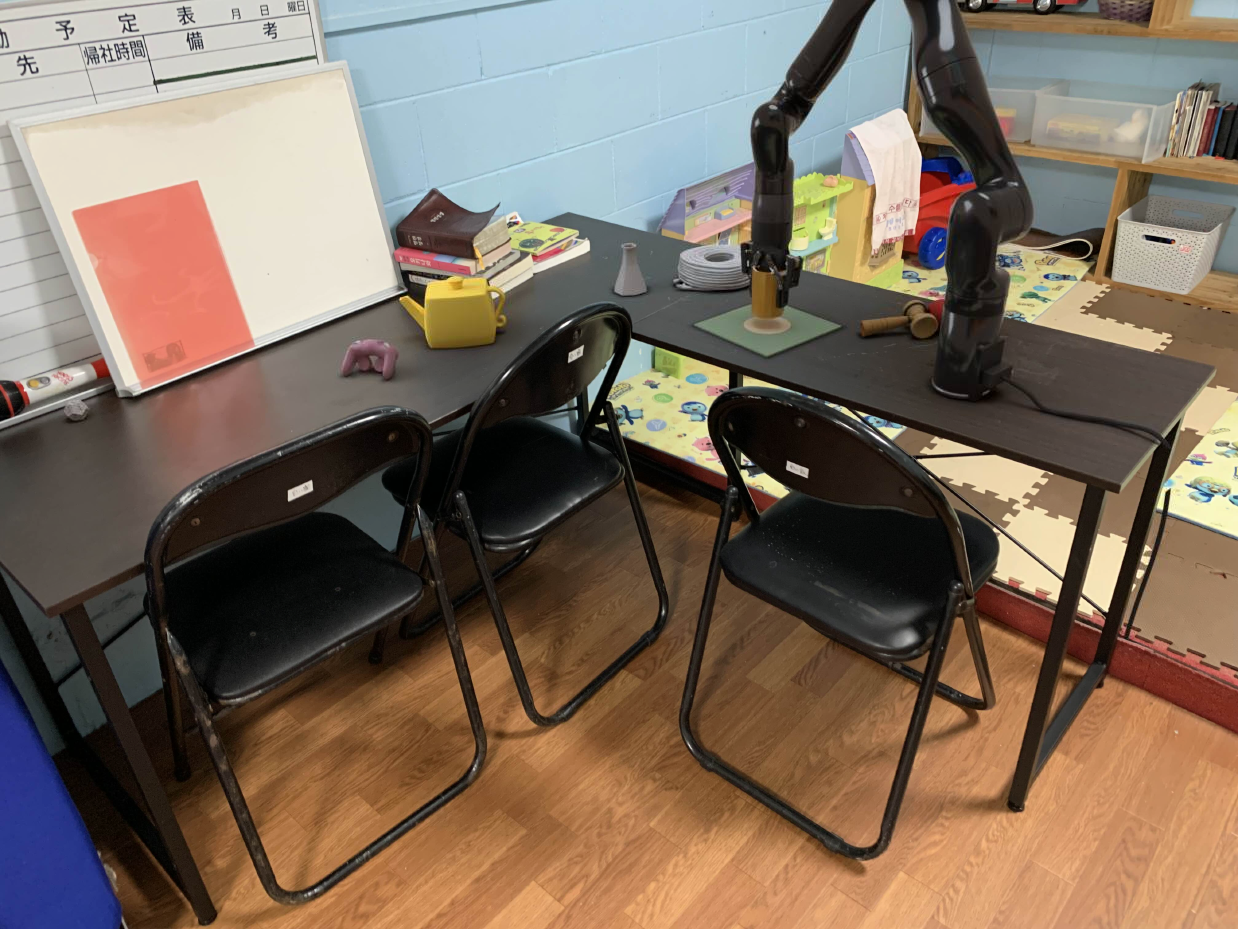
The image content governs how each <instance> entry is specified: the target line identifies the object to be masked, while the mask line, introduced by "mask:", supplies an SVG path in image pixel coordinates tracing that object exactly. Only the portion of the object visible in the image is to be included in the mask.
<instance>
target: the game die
mask: <svg viewBox="0 0 1238 929" xmlns="http://www.w3.org/2000/svg"><path fill="white" fill-rule="evenodd" d="M89 410H90V408H89V407H88V406H87V405H86V403H85V402H83V401H82V400H81V399H79V398H78V399H71V400H69V401H68V402H66V404H65V406H64V409H63V413H64V414H65V415H66V416H67V417H68V418H69V419H70V420H72V421H73V422H75V421H83V420H84V419H85V418H86V417H87V416H88V413H89Z"/></svg>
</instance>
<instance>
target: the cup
mask: <svg viewBox="0 0 1238 929" xmlns="http://www.w3.org/2000/svg"><path fill="white" fill-rule="evenodd" d="M777 271H778V272H779V273H780V272H783V271H785V270H784V269H783V270H782V268H781V269H780V270H777ZM781 278H782V282H784V275H783V276H781ZM777 289H778V287H777V284H776V278H774V273H771V272H770V271H768V270H767V269H763V270H762V269H761V270H758V271H757V270H756V269H755V267H754V266H753V273H752V298H751V303H750V304H751V314H752V315H753V316H755V317H758V318H763V319H773V318H778V317H780V316H782V315H783V314H784V307H783V308H777V307H776V294H777Z"/></svg>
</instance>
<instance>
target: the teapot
mask: <svg viewBox="0 0 1238 929" xmlns="http://www.w3.org/2000/svg"><path fill="white" fill-rule="evenodd" d="M492 293H495V294H498V295H499V303H498V305H497V308H496V307H495V303H494V299H493V295H492ZM424 295H425V296H424V307H423V306H422V305H420V304H419V303H417V302H416V301H415V300H413V299H412V298H411V297H410V296H409V295H405V296H402V297H399V299H398V302H399V303H400V304H401V305H402V306H403V307H404V308H405V310H406V311H407V312H408V313H409V314H410V315H411V317H412V318H413V319H414V320H415V321H416V322H417V324H418V325H419V326H420V327H421V328H422V329H423V330H424V333H425V334H424V335H425V338H426V342H427V343H428V346H429V347H430V349H456V348H457V349H458V348H467V347H468V348H469V347H476V346H477V347H478V346H486V345H490V344H493V343H494V342H495V339H496V334H497V333H496V332H497V328H502V327H504V326H505V325H506V323H507V317H506V316H505V314H504V315H503V314H501V312H502V310H503V308H504V306H505V303H506V295H505V292H504V291H503V290H502V289H501V288H500V287H498V286H495V285H489V282H488V281H487V279H486V278H485V277H467V278H466V277H465V278H463V277H462V276H460V275H459V276H458V275H455V276H450V277H448V278H447V279H442V280H435V281H429V282H428V283H427V286H426V289H425V294H424ZM495 308H496V309H495ZM499 319H501V321H498V320H499Z"/></svg>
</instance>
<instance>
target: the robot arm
mask: <svg viewBox="0 0 1238 929" xmlns="http://www.w3.org/2000/svg"><path fill="white" fill-rule="evenodd" d="M876 1H877V0H832V2H831V3H830V5H829V7H828V9H827V11H826V12H825V14H824V16H823V17H822V19H821V21H820V23H819V24H818V26H817V27H816V28H815V30H814V32H813V33H812V35H811V36H810V38H809V39H808V40H807V42H806V43H805V45H804V46H803V48H801V50H800V51H799V52H798V54H797V55H796V57H795V59H793V61H792V63H791V64H790V66H789V67H788V69H787V71H786V73H785V76H784V77H785V78H784V79H785V80H784V81H783V83H782V84H781V86H780V87H779V89H778V90H777V91H776V93H775V94H774V95H773V96H772V97H771V99H770V100H768V101H766V102H764V103H762V104H761V105H759V106H758V107H757V108H756V109H755V111H754V113H753V114H752V118H751V121H750V127H749V128H750V129H749V136H750V137H749V138H750V146H751V152H752V158H753V163H754V173H753V193H752V200H751V215H750V216H751V218H750V240H747V241H744V242H741V243H740V244H739V246H740V249H741V268H742V273H743V274H747V275H748V278H749V279H750V285H749V290H748V292H749V296H750V298H751V299H752V273H753V266H754V267H755V269H756V270H757V271H758V270H761V269H762V270H763V269H767V270H768V271H770V272H771V273H774V278H776V284H777V287H778V289H777V294H776V307H777V308H783V307H785V306H788V304H789V298H790V297H789V294H790V289H792V288H797V287H799V285H800V284H799V283H800V278H801V271H802V265H803V264H802V263H803V257H802V256H801V255H798V256H795V255H793V254H791V251H790V248H789V247H790V244H791V241H792V240H793V226H794V210H795V198H794V184H795V183H794V182H795V163H794V160H793V158H792V157H791V156H790V150H789V147H790V146H789V141H790V140H789V139H790V138H791V137H792V136H793V135H794V134H795V133H796V132H797V131H798V130H799V129H800V128H801V127H802V125H803V123H804V122H805V121H806V119H807V118H808V116H809V114H810V113H811V111H812V109H814V108H813V107H814V106H815V104H816V102H817V100H818V98H820V96H821V95H822V94H823V93H824V92H825V91H826V90H827V88H828V87H829V86H830V84H831V83H832V82H833V80H834V79H835V78H836V76H837V75H838V74H839V72H840V71H841V69H842V68H843V66H844V65H845V63H846V61H847V60H848V58H849V56H850V54H851V52H852V50H853V47H854V44H855V42H856V39H857V37H858V33H859V31H860V28H861V26H862V24H863V22H864V20H865V18H866V16H867V14H868V12H869V11H870V9H871V8H872V7H873V5H874V4H875V3H876ZM902 1H903V5H904V7H905V10H906V12H907V14H908V18H909V21H910V26H911V32H912V46H911V48H912V49H911V67H912V76H913V80H914V84H915V87H916V91H917V93H918V97H919V99H920V102H921V106H922V108H923V110H924V113H925V115H926V116H927V119H928V120H929V122H930V123H931V125H932V127H934V129H935V130H936V131H937V132H938V133H939V134H940V135H941V137H943V139H945V140H946V141H947V142H948V143H949V144H950V145H951V146H952V148H954V149H955V151H956V152H957V153H958V154H959V155H960V156H961V158H962V159H963V160H964V162H965V164H966V165H967V167H968V169H969V172H970V174H971V177H972V180H973V182H974V186H975V188H971V189H968V190H965V191H963V192H962V193H960V194H959V195H958V196H957V198H955V200H954V201H953V204H952V206H951V209H950V213H949V216H948V222H947V228H946V229H947V231H946V242H945V253H944V270H945V274H946V280H947V281H946V287H945V293H944V299H945V300H944V306H943V313H942V320H941V326H940V331H939V334H938V339H937V340H938V341H937V346H936V348H937V349H936V354H935V359H934V370H933V374H932V378H931V387H932V389H933V390H934V391H936V393H939V394H940V395H943V396H945V397H948V398H952V399H958V400H967V401H971V402H977V401H978V400H980V399H982V398H984V397H986V396H989V395H990V394H992V393H994V392H996V391H997V386H998V385H1000V384H1002V383H1004V382H1006V383H1007V384H1010V386H1012V387H1014V388H1016V389H1017V390H1019V391H1021V392H1022V393H1023V394H1024V395H1026V396H1027V397H1028V398H1029V399H1030V400H1031V401H1032V403H1033V404H1034V405H1035V406H1036V407H1037V408H1038V409H1040V410H1041V411H1043V412H1046V413H1048V414H1051V415H1055V416H1061V417H1068V418H1075V419H1079V420H1086V421H1092V422H1100V423H1104V424H1109V425H1113V426H1117V427H1121V428H1127V429H1132V430H1137V431H1141V432H1144V433H1147V434H1149V435H1151V436H1152V437H1154V438H1155V439H1157V441H1159V443H1161V445H1162V446H1163V447H1164V448H1165V449H1168V450H1170V449H1172V446H1171V445H1170V443H1169V442H1168V441H1167V439H1165V438H1164V436H1163V435H1161V434H1160V433H1159V432H1157V431H1156V430H1154V429H1152V428H1150V427H1147V426H1144V425H1139V424H1136V423H1129V422H1124V421H1119V420H1115V419H1112V418H1107V417H1102V416H1097V415H1096V416H1095V415H1087V414H1082V413H1076V412H1072V411H1071V412H1070V411H1063V410H1057V409H1053V408H1050V407H1048V406H1045V405H1043V404H1042V403H1041V402H1040V401H1039V400H1038V399H1037V398H1036V396H1035V395H1034V394H1033V393H1032V392H1031V391H1030V390H1028V389H1027V388H1026V387H1024V386H1022V385H1021V384H1020V383H1018V382H1016V381H1014V380H1013V379H1011V378H1012V377H1011V376H1012V372H1013V367H1014V365H1013V364H1010V363H1007V362H1004V361H1002V360H1003V354H1004V349H1005V344H1006V337H1005V336H1002V335H1001V333H1002V329H1003V323H1004V318H1005V313H1006V309H1007V308H1006V307H1007V302H1008V297H1009V291H1010V285H1011V280H1012V279H1011V278H1012V276H1011V274H1010V273H1009V271H1008V270H1007V269H1006V268H1004V267H1002V266H999V265H997V256H998V247H1001V246H1004V245H1008V244H1010V243H1013V242H1017V241H1019V240H1021V239H1023V238H1024V237H1026V236H1027V234H1028V233H1029V232H1030V230H1031V228H1032V226H1033V222H1034V218H1035V212H1034V211H1035V209H1034V203H1033V200H1032V196H1031V193H1030V191H1029V188H1028V186H1027V183H1026V182H1025V179H1024V177H1023V176H1022V173H1021V170H1020V168H1019V166H1018V165H1017V163H1016V160H1015V158H1014V155H1013V153H1012V151H1011V149H1010V147H1009V145H1008V142H1007V139H1006V137H1005V135H1004V132H1003V129H1002V127H1001V126H1002V125H1001V123H1000V121H999V118H998V115H997V113H996V109H995V107H994V105H993V101H992V98H991V96H990V93H989V89H988V85H987V82H986V79H985V76H984V72H983V70H982V67H981V64H980V61H979V57H978V56H977V52H976V50H975V47H974V45H973V42H972V39H971V36H970V32H969V31H968V27H967V25H966V21H965V19H964V17H963V14H962V12H961V9H960V7H959V4H958V1H957V0H902ZM754 255H755V257H754ZM748 260H749V266H747V261H748ZM781 268H782V270H783V269H784V270H785V271H783V272H780V273H779V272H778V271H777V270H780V269H781ZM783 275H784V282H782V278H781V276H783ZM1171 494H1172V487H1169V489H1167V490H1166V491H1164V499H1163V504H1162V510H1161V517H1160V522H1159V526H1158V531H1157V534H1156V537H1155V541H1154V544H1153V548H1152V551H1151V554H1150V557H1149V560H1148V563H1147V566H1146V569H1145V571H1144V575H1143V577H1142V579H1141V583H1140V586H1139V589H1138V592H1137V594H1136V596H1135V600H1134V603H1133V605H1132V609H1131V612H1130V614H1129V618H1128V621H1127V624H1126V627H1125V630H1124V633H1123V634H1124V635H1123V639H1124V640H1126V641H1127V640H1129V638H1130V634H1131V631H1132V628H1133V624H1134V621H1135V619H1136V615H1137V612H1138V609H1139V606H1140V603H1141V600H1142V597H1143V594H1144V592H1145V589H1146V587H1147V584H1148V581H1149V579H1150V575H1151V572H1152V570H1153V567H1154V565H1155V562H1156V559H1157V556H1158V552H1159V549H1160V545H1161V542H1162V539H1163V535H1164V531H1165V527H1166V523H1167V517H1168V512H1169V508H1170V500H1171Z"/></svg>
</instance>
